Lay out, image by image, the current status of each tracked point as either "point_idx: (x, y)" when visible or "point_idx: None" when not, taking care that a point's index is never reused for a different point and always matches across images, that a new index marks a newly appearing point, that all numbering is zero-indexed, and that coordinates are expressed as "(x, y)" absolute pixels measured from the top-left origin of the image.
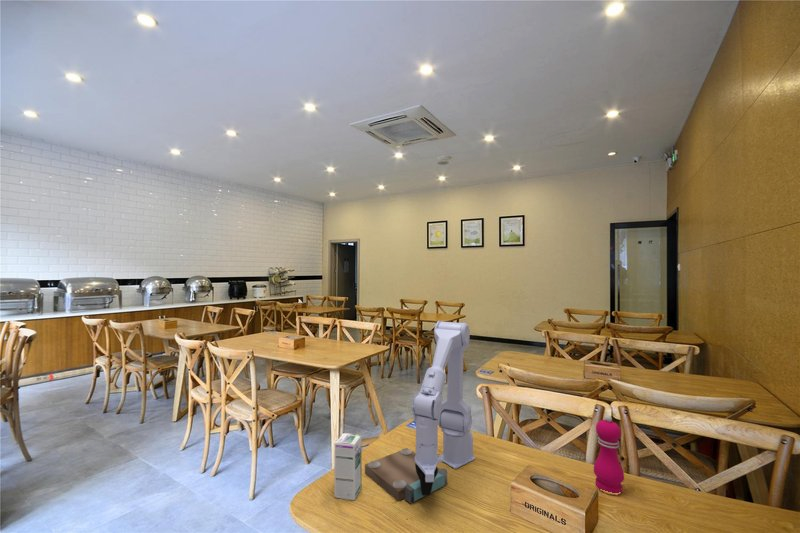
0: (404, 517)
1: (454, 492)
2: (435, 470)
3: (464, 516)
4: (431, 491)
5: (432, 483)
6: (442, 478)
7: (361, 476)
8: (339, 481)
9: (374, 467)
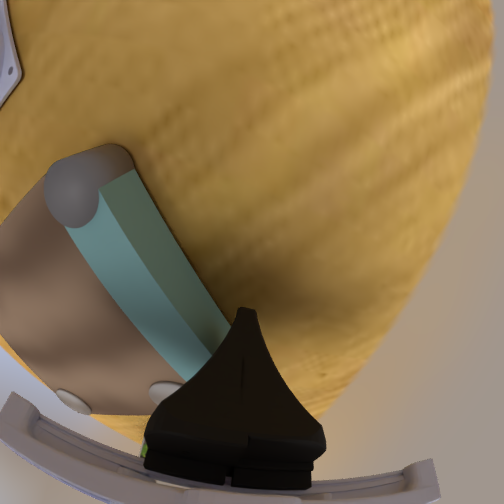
0: (313, 379)
1: (201, 122)
2: (298, 451)
3: (414, 165)
4: (187, 264)
5: (272, 362)
6: (120, 201)
7: (145, 445)
8: None
9: (88, 410)
